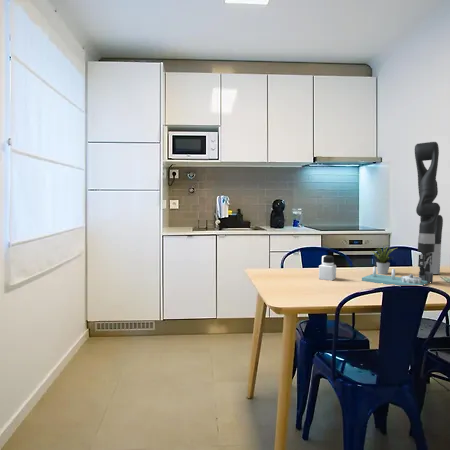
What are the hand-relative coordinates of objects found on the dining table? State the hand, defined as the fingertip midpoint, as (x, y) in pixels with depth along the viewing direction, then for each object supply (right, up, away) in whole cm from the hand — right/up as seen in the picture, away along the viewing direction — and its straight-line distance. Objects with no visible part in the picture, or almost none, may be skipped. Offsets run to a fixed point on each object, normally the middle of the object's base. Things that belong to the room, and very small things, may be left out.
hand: (424, 274), depth 204 cm
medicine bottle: (-47, -3, +7) cm, 48 cm away
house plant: (-11, -3, +24) cm, 26 cm away
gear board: (-16, -4, -1) cm, 16 cm away
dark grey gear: (+1, -4, 0) cm, 4 cm away
